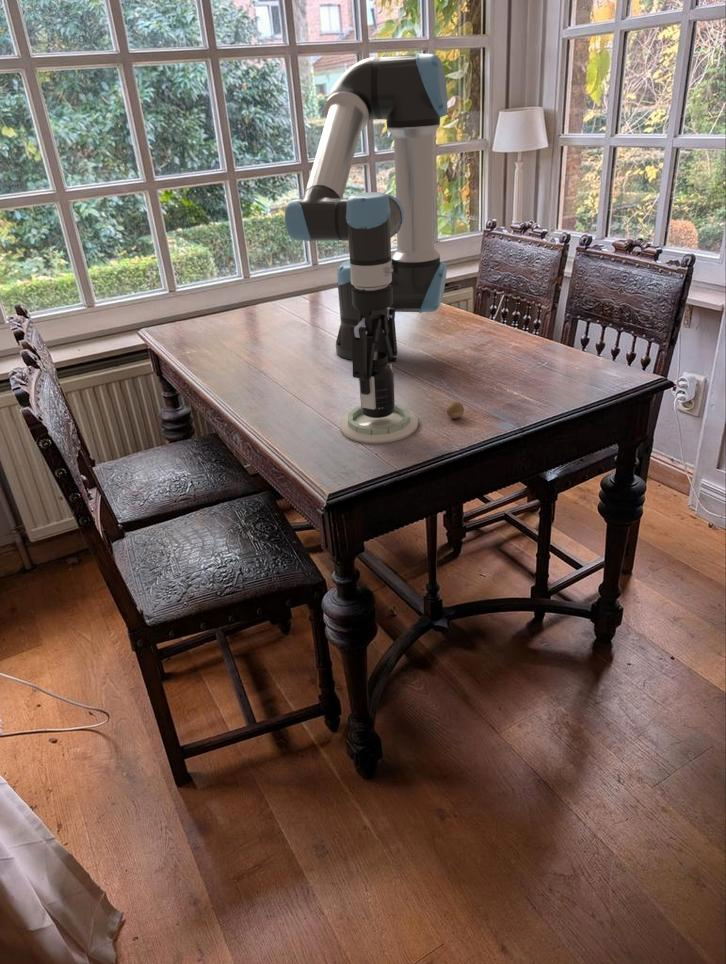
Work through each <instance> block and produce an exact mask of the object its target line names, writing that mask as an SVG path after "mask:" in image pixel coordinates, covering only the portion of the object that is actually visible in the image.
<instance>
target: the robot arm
mask: <svg viewBox="0 0 726 964" xmlns="http://www.w3.org/2000/svg"><path fill="white" fill-rule="evenodd" d="M446 81H447V80H446V74H445V70H444V65H443V63H442V60H441V59H440V57H439V56H438V55H437V54H434V53H419V52H417V53H413V54H402V55H401V54H399V55H389V56H379V57H378V56H374V57H373V56H372V57H366V58H364V59H361V60H359V61H358V62H356V63H354V64H352V66H350V67H349V68H347V69H346V71H344V72H343V73H342V74H341V75H340V77H338V79H337V80H336V82H335V83H334V84H333V86H332V87H331V89H330V91H329V92H328V96H327V97H326V100H325V104H324V110H323V112H324V117H325V123H324V125H323V129H322V132H321V135H320V138H319V142H318V146H317V150H316V153H315V156H314V160H313V162H312V163H313V164H312V165H311V166H312V167H311V170H310V174H309V176H308V180H307V184H306V188H305V190H304V193H303V196H302V198H299V197H298V198H297V199H296V198H295V199H291V200H290V201H288V202H287V203H286V205H285V210H284V224H285V229H286V231H287V234H288V237H290V238H291V239H292V240H294V241H303V242H304V241H305V242H309V243H310V242H324V241H325V242H326V241H329V242H330V241H333V242H334V241H348V251H349V259H348V260H346V261H343V262H342V263H341V264H340V265H339V266H338V268H337V282H336V285H337V293H338V304H339V314H340V319H339V320H340V325H339V329H338V333H337V337H336V342H335V353H336V355H338V356H339V357H340V358H343V359H345V360H346V359H347V360H352V378H355V379H359V378H360V384H359V388H360V387H361V398H360V403H361V402H362V408H368V409H373V410H374V409H375V408H376V403H375V384H374V377H371V376H372V367H373V358H374V352H375V351H379V352H384V353H386V354H387V356H388V365H387V366H389V367H390V368H391V369H392V370H393V363H394V364H396V363H397V361H398V358H397V356H398V344H397V343H398V342H397V333H396V332H397V330H396V322H395V320H396V319H395V318H396V313H419V314H421V313H432V312H433V313H434V312H436V311H438V310H439V308H441V304H442V301H443V297H444V292H445V287H446V286H445V285H446V281H447V267H448V266H447V263H446V262H443V261H441V254H440V253H439V252H438V250H436V248H435V247H434V133H436V131H437V130H438V129H439V128H440V126H441V118H443V117H446V115H447V114H448V89H447V88H448V87H447V82H446ZM372 120H373V121H374V120H386V130H387V131H388V132H389V133H390V134H391V135H392V136H393V143H394V144H393V145H394V146H393V148H394V150H393V151H394V177H395V178H394V181H395V183H394V184H395V196H394V195H392V194H386V193H384V192H378V191H373V192H372V191H371V192H369V191H368V192H359V193H355V194H352V195H349V196H348V197H346V198H344V195H345V190H346V187H347V185H348V184H347V183H348V180H349V175H350V172H351V168H352V164H353V160H354V157H355V154H356V149H357V146H358V142H359V138H360V135H361V132H362V131H363V130H364V129H366V127H367V126H368V122H369V121H372ZM394 236H396V244H397V245H396V246H397V248H396V250H395V251H394V252H393V254H392V247H391V244H392V241H391V240H392V237H394Z"/></svg>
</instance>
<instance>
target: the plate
mask: <svg viewBox="0 0 726 964" xmlns="http://www.w3.org/2000/svg"><path fill="white" fill-rule="evenodd" d="M418 428H419V416H418V415H417V414H416V412H414V411H412V410H411V409H409V408H406V407H404V406H402V405H401V404H397V403H395V410H394V412H393V413H392V414H391V415H389V416H387V417H383V418H371V417H367V416H365V415H364V414H363V413H362V410H361V405H360V406H355V408H353V409H352V410H350V411H348V412H346V413H345V414H344V415H342V417H341V418H340V420H339V430H340V432H341V434H342V435H343V436H345V438H347V439H349V440H352V441H355V442H359V443H364V444H387V443H393V442H398V441H400V440H403V439H405V438H407V437H410V436H411V435H413V434H414V433H415V432H416V431H417V429H418Z"/></svg>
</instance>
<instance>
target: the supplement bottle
mask: <svg viewBox="0 0 726 964" xmlns="http://www.w3.org/2000/svg"><path fill="white" fill-rule="evenodd" d="M387 365H388V356H387V354H386V353H384V352H379V351H375V352H374V358H373V367H372V376H371V377H374V384H375V403H376V408H375V409H374V410H373V409H368V408H362V402H361V401H360V406H361V410H362V413H363V414H364V415H365V416H367V417H371V418H383V417H387V416H389V415H391V414H392V413H393V412H394V410H395V404H396V403H395V402H396V400H395V380H394V379H395V378H394V376H395V375H394V371H393V368H392V369H391V368H390V367H389V366H387ZM358 382H359V385H360V378H358ZM359 396H360V399H361V387H360V386H359Z"/></svg>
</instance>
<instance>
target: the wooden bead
mask: <svg viewBox="0 0 726 964" xmlns="http://www.w3.org/2000/svg"><path fill="white" fill-rule="evenodd" d="M464 411H465V408H464V405H463V404H462V403H461V402H459V401H451V402H450V403H448V405H447V407H446V413H447V416H448V417H450V418H452V419H453V420H454V419H457V420H458V419H460V418H462V416H463V415H464Z"/></svg>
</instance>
